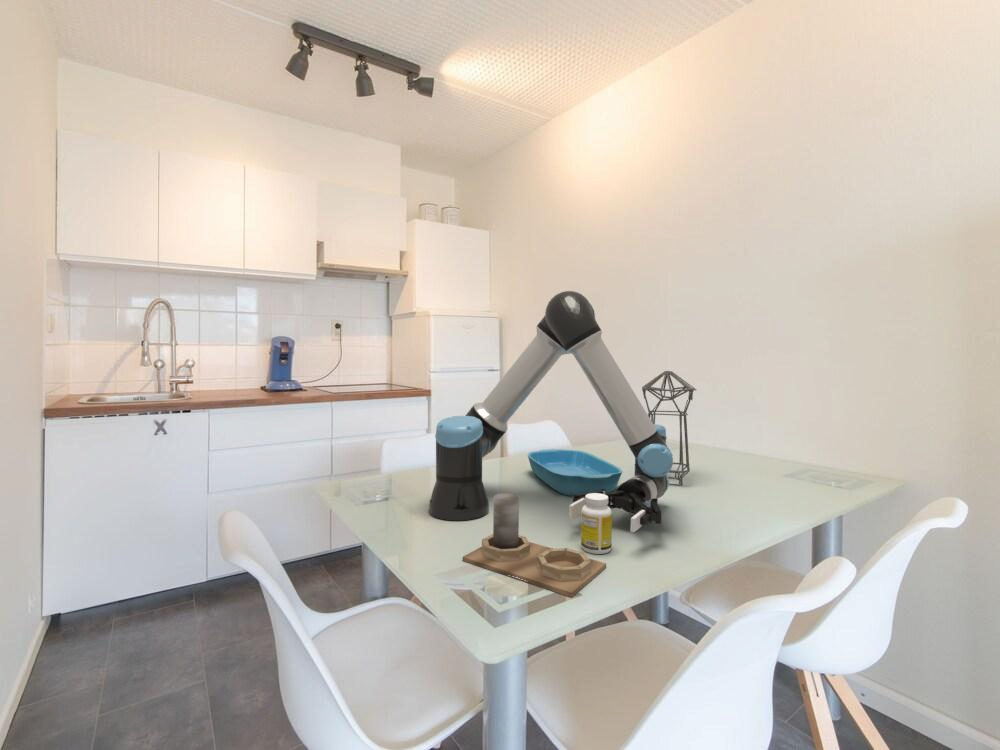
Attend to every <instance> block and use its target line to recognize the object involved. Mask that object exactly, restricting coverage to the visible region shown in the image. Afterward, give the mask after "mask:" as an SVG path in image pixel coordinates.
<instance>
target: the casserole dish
mask: <svg viewBox="0 0 1000 750" xmlns="http://www.w3.org/2000/svg"><path fill="white" fill-rule="evenodd" d="M527 457H528V461H529V465H530V469H531V470H532V472H533V474H534V475H535V476H537V477H538V478H539V479H540V480H542V481H543V482H544V483H545V484H547V485H548V486H550V487H551V488H552V489H553V490H555V491H556V492H558V493H560V494H562V495H566V496H572V497H573V495H574V494H581V493H587V492H593V491H598V490H600V489H605V490H606V493H608V492H614V490H615V489H616V488H617V486H618V483H619V481H620V479H621V477H622V474H623V470H622V468H620V467H619V466H617V465H615V464H613V463H611V462H610V461H607V460H605V459H602V458H600V457H598V456H596V455H594V454H592V453H590V452H587V451H583V450H577V449H561V448H560V449H559V448H557V449H556V448H549V449H540V450H535V451H530V452H528V454H527Z"/></svg>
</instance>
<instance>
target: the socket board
mask: <svg viewBox="0 0 1000 750" xmlns="http://www.w3.org/2000/svg"><path fill="white" fill-rule="evenodd" d="M519 498H520V496H518V495H517V494H514V493H505V492H504V493H497V494H495V495H494V496H493V520H492V521H493V522H492V523H493V527H492V529H493V531H492V532H493V533H492V534H490V535H488V536H486V537H484V538H482V539H481V547H479V548H477V549H475V550H473V551H470V552H469V553H467V554H465V555H463V556H462V561H463V562H464V563H468V564H470V565H474V566H476V567H480V568H484V569H486V570H488V569H489V571H491V570H493V571H492V572H494V571H496V572H495V573H497V572H499V573H498V574H500V573H503V574H506V575H510V576H514V577H518V578H520V579H523V580H526V581H528V582H530V583H531V584H530V583H529V584H530V585H534V586H537V587H539V588H543V589H545V590H548V591H551V592H554V593H557V594H560V595H563V596H566V597H569V598H574V597H575V595H577V594H578V593H579V592H580V591H581V590H583V588H584V587H586V586H587V585H588V584H589V583H590V582H592V581H593V580H594V579H595V578H596V577H597V576H598V575H599V574H600V573H602V572H603V571H604V570H606V569H607V563H606V562H603V561H600V560H595V559H593V558H589V557H588V556H587V554H586V552H583V551H578V550H575V549H573V548H572V549H571V548H568V547H563V548H561V547H560V548H553V547H550V546H545V545H541V544H538V543H535V542H531V541H529V540H528V538H527V537H526V536H523V535H520V534H519V525H520V524H519V519H520V518H519V517H520V516H519V514H520V512H519V511H520V509H519V507H520V505H519V504H520V502H519V501H520V499H519ZM503 574H502V575H503ZM506 575H505V576H506Z"/></svg>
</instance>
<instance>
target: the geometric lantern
mask: <svg viewBox="0 0 1000 750" xmlns="http://www.w3.org/2000/svg"><path fill="white" fill-rule="evenodd" d="M662 377H663V380H662V383H661V386H660V387H654V386H653V385H655V384H656V383H657V382H658V381H659V380H660V379H662ZM671 377H672V378H674V380H676V381H677V382H679V383H680V384H681V385H682V386H678V387H677V386H676V387H674V384H673V380H672V378H671ZM666 384H668V388H666V386H667V385H666ZM641 389H642V394H643V395H642V396H643V399H644V400H645V403H646V408H647V411H648V412H647V414H648V416H649V418H650V419H651V421H652V423H653V424H656V416H658V415H659V416H678V417H679V461H678V462H673V465H678V466H677V470H672V469H671V470H670V471H669V472H668V473H667V474H669V473H671V474H674V476H668V478H669V479H674V478H676V479H675V480H678V483H669V486H682V484H683V478H684V477H685V476H686V475H688V474H689V473H690V471H691V469H690V457H689V440H688V437H689V435H688V422H687V420H688V419H687V416H689V415H688V413H687V411H688V409H689V406H690V403H691V401H693V399H694V398H693V397H694V396H693V395H694V391H697V388H696V387H694V386H693V385H691V384H689V383H688V382H687V381H686V380H684V379H683V378H682V377H681V376H679V375H677V374H676V373H675V372H674V371H672V370H671V371H670V370H664V371H663V372H661V373H660V374H658V375H657V376H655V377H654V378H653V379H652V380H650V381H648V382H647V383H645V385H642V387H641ZM646 391H647V392H649V393H650V394H651V395H653V396H654V397H655V398H657V399H658V402H657V404H656V405H655V406H654V408H653V409H652V410H651V409H650V406H649V402H648V400H647V395H646ZM666 392H669V393H670V396H666ZM686 393H688V396H687V398H688V399H686V402H685V406H684V409H683V410H682V411H681V410H680V408H679V406H678V404H677V403H676V401H675V399H676V398H678V397H681V396H682V395H685V394H686ZM664 401H672V403H674V406H675V408H676V409H677V411H676V410H658V408H659V407H660V405H661V403H662V402H664ZM675 413H676V414H675ZM678 413H679V414H678ZM682 426H684V427H682ZM683 430H684V445H685V447H683ZM684 448H685V461H686V463H684V451H683V449H684ZM680 467H681V470H679V469H680ZM686 469H687V470H686ZM680 482H681V483H680Z"/></svg>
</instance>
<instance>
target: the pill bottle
mask: <svg viewBox="0 0 1000 750" xmlns="http://www.w3.org/2000/svg"><path fill="white" fill-rule="evenodd" d="M585 503H586V505H584V506H583V508H582V511H581V513H580V514H581V516H580V517H581V523H580V525H581V526H580V527H581V529H580V531H581V532H580V534H581V535H580V539H581V540H580V544H581V549H582V550H583V551H585V553H589V554H595V555H604V554H607V553H609V552H610V551H611V550H612V541H613V540H612V539H613V538H612V530H613V528H612V527H613V525H612V524H613V522H612V521H613V520H612V519H613V513H612V510H611V509H612V508H611V509H610V508H609V507H608V506H607V505H608V496H607V495H605V494H600V493H590V494H587V495H586V496H585Z"/></svg>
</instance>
